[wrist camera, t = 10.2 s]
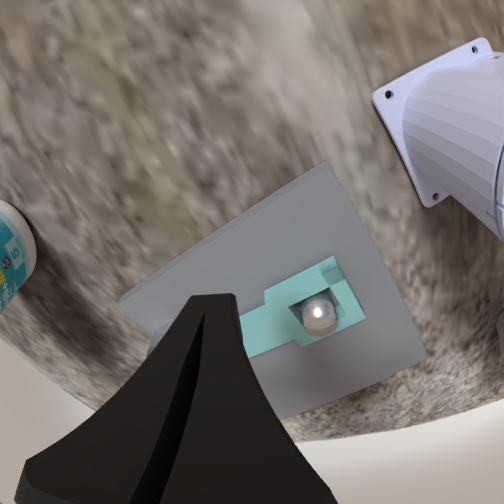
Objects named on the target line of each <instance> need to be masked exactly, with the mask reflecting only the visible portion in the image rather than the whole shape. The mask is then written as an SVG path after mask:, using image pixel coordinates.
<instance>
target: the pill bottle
mask: <svg viewBox="0 0 504 504" xmlns="http://www.w3.org/2000/svg"><path fill="white" fill-rule="evenodd" d="M36 257H37V254H36V245H35V241H34V238H33V235H32V232H31V230H30V228H29V226H28V224H27V222H26V221H25V219H24V218H23V217H22V215H21V214H20V213H19V212H18V211H17V210H16V209H15V208H14V207H13V206H11V205H10V204H9V203H7V202H5V201H3V200H0V314H1V312H2V311H3V309H4V308H5V307H6V305H7V304H8V303H9V302H10V300H11V299H12V298H13V296H14V295H15V294H16V292H17V291H18V290H19V289H20V287H21V286H22V285H23V284H24V283H25V281H26V280H27V279H28V278H29V276H30V275H31V274H32V272H33V270H34V268H35V264H36Z"/></svg>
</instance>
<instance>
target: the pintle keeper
mask: <svg viewBox="0 0 504 504" xmlns="http://www.w3.org/2000/svg"><path fill="white" fill-rule="evenodd" d="M301 308H302V315H303V322H304V328H305V331H306V332H307V333H308V334H309V335H311V336H315V337H322V336H326V335H328V334H330V333H332V332H333V331H334V330H335V329H336V327H337V325H338V321H337V317H336V313H335V309H334V305H333V301H332V298H331V294H330V291H329V289H328V288H326V289H324V290H322V291H320V292H318V293H316V294H314V295H312V296H310V297H308V298H305V299H303V300H301ZM173 322H174V320H171V321H170V322H168V323H166V324H164V325H162V326H161V327H159V328H157V329H155V331H154V334H153V337H152V341H151V344H150V347H149V350H148V353H147V356H146V357H148V356H149V355H150V353H151V352H152V351H153V349H154V348H155V347H156V346H157V344H158V343H159V341H160V340H161V339H162V337H163V336H164V334H165V333H166V332H167V330H168V329H169V327H170V326H171V325H172V323H173Z"/></svg>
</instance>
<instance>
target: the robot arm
mask: <svg viewBox="0 0 504 504" xmlns="http://www.w3.org/2000/svg"><path fill="white" fill-rule="evenodd" d="M472 47H473V48H474V50H475V51H474V53H473V52H472ZM388 90H389V91H390V92H391V97H390V98H389V99H387V98H386V97H385V92H386V91H388ZM372 102H373V104H374V106H375V107H376V109H377V111H378V113H379V115H380V116H381V118H382V120H383V122H384V124H385V126H386V128H387V130H388V131H389V133H390V135H391V137H392V139H393V141H394V143H395V145H396V147H397V149H398V151H399V153H400V155H401V157H402V160H403V162H404V164H405V166H406V168H407V170H408V172H409V175H410V177H411V179H412V181H413V184H414V186H415V188H416V191H417V193H418V195H419V198H420V200H421V203H422V204H423V205H424V206H425V207H428V208H430V207H432V206H434V205H435V204H437V203H438V202H440V201H442V200H443V199H445V198H446V197H448V196H449V195H452V196H453V197H454V198H455V199H456V200H458V201H459V202H460V203H461V204H462V205H463V206H465V207H466V208H467V209H468V210H469V211H470V212H471V213H473V214H474V215H475V216H476V217H477V218H478V219H479V220H480V221H481V222H482V223H484V224H485V225H486V226H487V227H488V228H489V229H490V230H491V231H492V232H493V233H494V234H495V235H496V236H497V237H498V238H499V239H500V240H501V241H502V242H503V243H504V53H500V52H493V51H492V49H491V47H490V44H489V42H488V41H487V40H486V39H485V38H477V39H475V40H473V41H471V42H468V43H466V44H464V45H462V46H460V47H458V48H456V49H454V50H452V51H450V52H448V53H446V54H444V55H442V56H439V57H438V58H436V59H434V60H432V61H430V62H428V63H426V64H424V65H422V66H420V67H418V68H416V69H414V70H412V71H410V72H409V73H407V74H405V75H403V76H401V77H399V78H397V79H396V80H394V81H392V82H390V83H388V84H386V85H385V86H383V87H381V88H379V89H377V90H376V91H375V92H373V94H372ZM435 193H437V195H436V197H435V198H433V195H434V194H435ZM14 500H15V502H16V503H17V504H338V503H337V501H336V499H335V497H334V496H333V494H332V492H331V490H330V488H329V487H328V486H327V485H326V483H325V482H324V481H323V480H322V479H321V478H320V476H319V475H318V474H317V473H316V471H315V470H314V469H313V468H312V467H311V465H310V464H309V463H308V461H307V460H306V459H305V457H304V456H303V455H302V453H301V452H300V451H299V449H298V448H297V446H296V445H295V444H294V442H293V441H292V439H291V437H290V436H289V434H288V433H287V431H286V430H285V428H284V427H283V425H282V423H281V422H280V420H279V419H278V417H277V416H276V414H275V412H274V410H273V409H272V407H271V405H270V403H269V401H268V400H267V398H266V396H265V394H264V392H263V390H262V388H261V386H260V384H259V382H258V380H257V377H256V375H255V373H254V371H253V368H252V366H251V363H250V361H249V359H248V356H247V353H246V351H245V348H244V345H243V334H242V329H241V323H240V318H239V312H238V306H237V301H236V296H235V295H234V294H232V293H221V294H206V295H192V296H191V297H190V298H189V299H188V301H187V302H186V304H185V305H184V307H183V308H182V310H181V311H180V313H179V314H178V316H177V317H176V319H175V320H174V322H173V323H172V325H171V326H170V327H169V329H168V330H167V332H166V333H165V334H164V336H163V337H162V339H161V340H160V341H159V343H158V344H157V346H156V347H155V348H154V349H153V351H152V352H151V353H150V355H149V356H148V357H147V358H146V360H145V361H144V362H143V363H142V365H141V366H140V367H139V368H138V369H137V371H136V372H135V373H134V374H133V375H132V376H131V378H130V379H129V380H128V381H127V382H126V383H125V384H124V385H123V386H122V387H121V388H120V389H119V390H118V392H117V393H116V394H115V395H114V396H113V397H111V398H110V399H109V400H108V401H107V402H106V403H105V404H104V405H103V406H102V407H101V408H100V409H98V410H97V411H96V412H95V413H94V414H93V415H92V416H91V417H90V418H88V419H87V420H86V421H85V422H83V423H82V424H81V425H79V426H78V427H77V428H76V429H74V430H73V431H72V432H70V433H69V434H68V435H66V436H65V437H64V438H62V439H60V440H59V441H57V442H56V443H54V444H53V445H51V446H49V447H48V448H46V449H45V450H43V451H41V452H40V453H38V454H36V455H34V456H33V457H31V458H29V459H27V460H26V462H25V465H24V468H23V471H22V474H21V477H20V480H19V484H18V487H17V490H16V494H15V498H14ZM0 504H2V503H0Z"/></svg>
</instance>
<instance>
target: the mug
mask: <svg viewBox="0 0 504 504" xmlns="http://www.w3.org/2000/svg"><path fill="white" fill-rule="evenodd" d="M496 328H497V331H498V336H499V346H500V353H501V358H502V362H503V366H504V309H503V310H502V312H501V313H500V315H499V317H498V320H497V323H496Z"/></svg>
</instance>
